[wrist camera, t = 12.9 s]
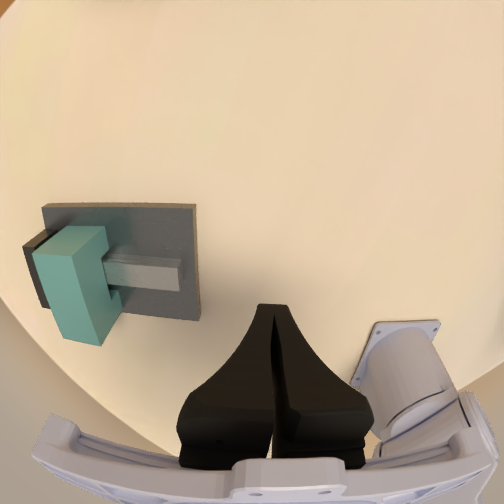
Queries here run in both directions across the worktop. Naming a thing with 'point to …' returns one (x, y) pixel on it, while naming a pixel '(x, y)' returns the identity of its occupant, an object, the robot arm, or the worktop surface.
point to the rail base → (136, 253)
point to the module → (78, 283)
